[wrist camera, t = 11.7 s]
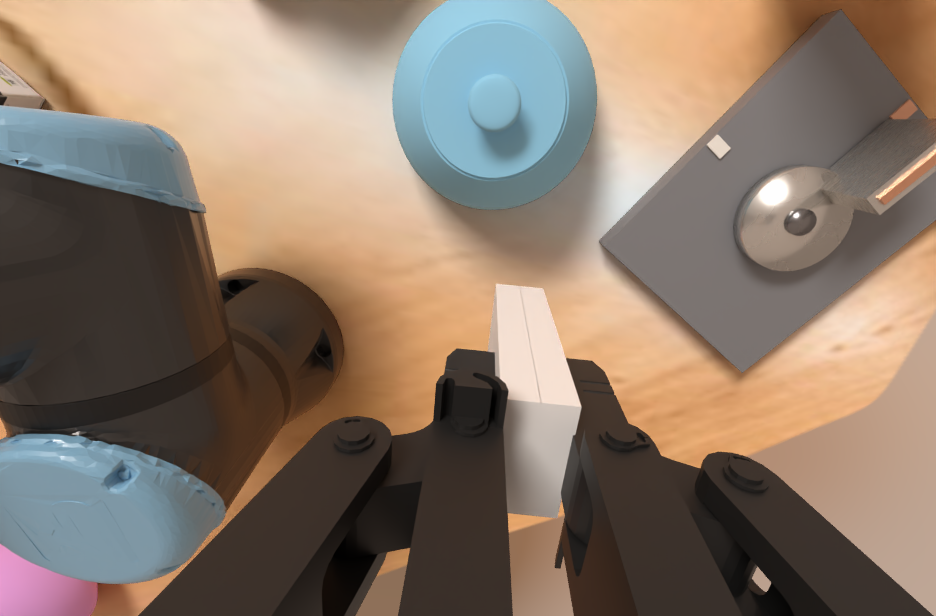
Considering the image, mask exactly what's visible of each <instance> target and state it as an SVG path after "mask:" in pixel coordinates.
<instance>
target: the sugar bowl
mask: <svg viewBox="0 0 936 616" xmlns="http://www.w3.org/2000/svg"><path fill="white" fill-rule="evenodd" d="M392 100H393V115H394V121H395V127H396V131H397V134H398V137H399V141H400V144H401V146H402V148H403V150H404V153H405V155H406V157H407V159H408V160H409V162H410V164H411V165H412V167H413V168H414V169H415V171H416V172H417V173H418V175H419V176H420V177H421V178H422V179H423V180H424V181H425V182H426V183H427V184H428V185H429V186H430V187H431V188H432V189H434V190H435V191H436V192H438V193H439V194H440V195H442V196H444V197H446V198H447V199H449V200H451V201H453V202H456V203H458V204H460V205H464V206H467V207H471V208H476V209H484V210H500V209H507V208H513V207H517V206H520V205H524V204H526V203H529V202H531V201H534V200H536V199H538V198H539V197H541V196H543V195H545V194H547V193H548V192H549V191H551V190H552V189H553V188H555V187H556V186H557V185H558V184H559V183H560V182H561V181H562V180H563V179H565V178H566V177H567V175H568V174H569V173H570V172H571V170H572V169H573V168H574V167H575V165H576V164H577V162H578V161H579V159H580V157H581V156H582V154H583V152H584V150H585V148H586V146H587V144H588V141H589V138H590V135H591V132H592V130H593V125H594V120H595V116H596V105H597V86H596V79H595V72H594V67H593V64H592V60H591V57H590V54H589V52H588V49H587V47H586V45H585V42H584V40H583V39H582V37H581V35H580V34H579V32H578V31H577V29H576V28H575V26H574V25H573V24H572V23H571V21H570V20H569V19H568V18H567V17H566V16H565V15H564V14H563V13H562V12H561V11H560V10H559V9H558V8H557V7H555V6H554V5H552V4H551V3H549V2H548V1H546V0H448V1H446V2H445V3H443V4H442V5H440V6H439V7H437V8H436V9H435V10H433V11H432V12H431V13H430V14H429V15H428V16H427V17H426V18H425V19H424V20H423V21H422V22H421V23H420V25H419V26H418V27H417V28H416V30H415V31H414V32H413V34H412V35H411V37H410V39H409V40H408V42H407V44H406V46H405V48H404V50H403V52H402V54H401V57H400V60H399V63H398V66H397V69H396V74H395V79H394V84H393V99H392Z"/></svg>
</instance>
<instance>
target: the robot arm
mask: <svg viewBox="0 0 936 616" xmlns="http://www.w3.org/2000/svg"><path fill="white" fill-rule="evenodd" d="M204 213H206V208H205V206H204V204H202V203H201V202H200V199H199V196H198V193H197V190H196V187H195V184H194V180H193V177H192V173H191V170H190V166H189V163H188V159H187V156H186V154H185V152H184V150H183V148H182V147H181V145H180V144H179V143H178V142H177V141H176V140H175V139H174V138H173V137H172V136H171V135H170V134H168V133H167V132H165V131H163V130H162V129H160V128H157V127H155V126H152V125H149V124H145V123H140V122H134V121H128V120H122V119H115V118H109V117H101V116H93V115H85V114H77V113H69V112H60V111H51V110H42V109H33V108H22V107H12V106H2V105H0V418H1V420H2V422H3V424H4V426H5V429H6V432H7V435H6V437H5V438H3V439H1V440H0V544H1V545H3V546H4V547H6V548H7V549H8V550H10V551H11V552H13V553H14V554H16V555H18V556H20V557H21V558H23V559H25V560H27V561H29V562H31V563H33V564H35V565H37V566H40V567H43V568H46V569H47V570H49V571H52V572H55V573H58V574H60V575H64V576H67V577H71V578H75V579H79V580H84V581H89V582H96V583H105V584H130V583H139V582H145V581H150V580H153V579H156V578H159V577H162V576H164V575H167V574H169V573H171V572H173V571H174V570H176V569H177V568H179V567H180V566H181V565H182V564H184V563H185V562H186V561H187V560H188V559H189V558H190V557H192V555H193V554H194V553H195V552H196V551H197V549H198V548H199V547H200V545H201V544H202V543H203V541H204V540H205V539H206V538H207V536H208V535H209V534H210V533H211V531H212V530H213V529H215V528H216V527H218V526H219V525H220V524H221V522H222V521H223V519H224V517H225V514H226V511H227V510H228V508H229V507H230V505H231V504H232V502H233V500H234V499H235V497H236V496H237V494H238V493H239V491H240V490H241V488H242V487H243V485H244V484H245V482H246V481H247V479H248V478H249V476H250V475H251V473H252V471H253V470H254V468H255V467H256V465H257V464H258V462H259V461H260V459H261V458H262V456H263V455H264V453H265V452H266V450H267V449H268V447H269V446H270V444H271V443H272V441H273V440H274V438H275V437H276V435H277V434H278V432H279V431H280V429H281V428H282V426H284V425H285V424H287V423H289V422H290V421H292V420H294V419H295V418H297V417H298V416H300V415H302V414H303V413H305V412H307V411H308V410H310V409H311V408H313V407H314V406H315V405H316V404H318V403H319V402H320V401H321V400H322V399H323V398H324V397H325V395H326V394H327V393H328V391H329V390H330V388H331V386H332V385H333V383H334V381H335V380H336V378H337V376H338V374H339V371H340V369H341V365H342V360H343V341H342V336H341V332H340V329H339V326H338V324H337V322H336V319H335V318H334V316H333V314H332V312H331V311H330V309H329V308H328V307H327V305H326V304H325V303H324V302H323V300H322V299H321V298H320V297H319V296H318V295H317V294H316V293H314V292H313V291H312V290H311V289H310V288H308V287H307V286H306V285H304V284H303V283H301V282H299V281H298V280H296V279H294V278H292V277H290V276H287V275H285V274H282V273H279V272H276V271H272V270H267V269H260V268H245V269H237V270H233V271H230V272H227V273H224V274H222V275H220V276H218V277H217V273H216V268H215V264H214V259H213V254H212V250H211V245H210V241H209V236H208V231H207V227H206V222H205V218H204ZM561 499H562V502H563V507H564V513H565V518H564V523H563V527H562V532H561V536H560V541H559V545H558V549H557V554H556V559H555V568H561V563H562V559H563V557H564V560H565V565H566V571H567V577H568V583H569V588H570V595H571V601H572V607H573V613H574V616H933V615H932V614H931V613H930V612H929V611H927V610H926V609H925V608H924V607H923V606H922V605H921V604H920V603H919V602H918V601H916V600H915V599H914V598H913V597H912V596H911V595H910V594H909V593H907V592H906V591H905V590H904V589H903V588H902V587H901V586H900V585H899V584H897V583H896V582H895V581H894V580H893V579H892V578H891V577H890V576H889V575H887V574H886V573H885V572H884V571H883V570H882V569H881V568H880V567H879V566H877V565H876V564H875V563H874V562H873V561H872V560H871V559H870V558H868V557H867V556H866V555H865V554H864V553H863V552H862V551H861V550H860V549H858V548H857V547H856V546H855V545H854V544H853V543H851V541H849V540H848V539H847V538H846V537H845V536H844V535H843V534H842V533H841V532H839V531H838V530H837V529H836V528H835V527H834V526H833V525H831V524H830V523H829V522H828V521H827V520H826V519H825V518H824V517H823V516H822V515H821V514H819V513H818V512H817V511H816V510H815V509H814V508H813V507H812V506H810V505H809V504H808V503H807V502H806V501H805V500H804V499H803V498H802V497H800V496H799V495H798V494H797V493H796V492H795V491H794V490H792V488H790V487H789V486H788V485H787V484H786V483H785V482H784V481H783V480H781V479H780V478H779V477H778V476H777V475H776V474H774V473H773V472H772V471H770V470H769V469H768V468H766V467H764V466H763V465H762V464H760V463H758V462H756V461H754V460H752V459H750V458H748V457H745V456H742V455H739V454H734V453H727V452H716V453H712V454H708V455H707V456H706V458H705V459H704V460H703V462H702V465H701V468H696V467H693V466H690V465H687V464H683V463H680V462H677V461H674V460H671V459H668V458H666V457H663V456H661V455H660V453H659V451H658V449H657V447H656V445H655V443H654V442H653V441H652V439H651V438H650V437H649V436H648V435H647V434H646V433H645V432H643V431H642V430H640V429H639V428H638V427H635V426H633V425H631V424H628V422H627V419H626V417H625V415H624V413H623V411H622V409H621V406H620V404H619V402H618V400H617V398H616V396H615V395H614V391H613V389H612V387H611V386H610V383H609V380H608V378H607V376H606V374H605V372H604V371H603V370H602V369H601V368H600V367H598V366H597V365H596V364H595V363H594V362H593V361H588V360H578V359H569V358H566V357H565V354H564V351H563V348H562V345H561V342H560V339H559V336H558V333H557V330H556V327H555V323H554V320H553V317H552V314H551V311H550V308H549V305H548V302H547V299H546V296H545V293H544V290H543V288H534V287H524V286H514V285H504V284H496V287H495V296H494V304H493V312H492V320H491V328H490V337H489V345H488V352H486V351H476V350H467V349H456V350H455V351H453V352H452V353H451V354H450V355H449V356H448V357H447V361H446V366H445V372H444V375H442V376H440V378H439V380H438V381H437V383H436V393H435V406H434V419H433V422H432V423H431V424H430V425H428V426H427V427H425V428H424V429H421V430H419V431H416V432H413V433H408V434H403V435H395V436H391V432H390V430H389V429H388V428H387V427H386V426H385V425H384V424H383V423H382V422H380V421H377V420H375V419H373V418H367V417H360V416H356V417H346V418H341V419H339V420H336V421H333V422H330V423H329V424H327V425H326V426H325V427H323V428H322V429H320V430H319V431H318V432H317V433H316V434H315V435H314V436H313V438H312V439H311V440H310V441H309V442H308V443H307V444H306V445H305V446H304V447H303V448H302V449H301V450H300V451H299V452H298V453H297V454H296V455H295V456H294V457H293V458H292V459H291V460H290V461H289V462H288V463H287V464H286V465H285V466H284V467H283V468H282V469H281V470H280V471H279V472H278V473H277V474H276V475H275V476H274V477H273V478H272V479H271V480H270V481H269V483H268V484H267V485H266V486H265V487H264V488H263V489H262V490H261V491H260V492H259V493H258V494H257V495H256V496H255V497H254V498H253V499H252V500H251V501H250V502H249V503H248V504H247V505H246V506H245V507H244V508H243V509H242V510H241V511H240V512H239V513H238V514H237V515H236V516H235V517H234V518H233V519H232V520H231V521H230V522H229V523H228V524H227V525H226V526H225V528H224V529H223V530H222V531H221V532H220V533H219V534H218V535H217V536H216V537H215V538H214V539H213V540H212V541H211V542H210V543H209V544H208V545H207V546H206V547H205V548H204V549H203V550H202V551H201V552H200V553H199V554H198V555H197V556H196V557H195V558H194V559H193V560H192V561H191V562H190V563H189V564H188V565H187V566H186V567H185V568H184V569H183V570H182V571H181V573H180V574H179V575H178V576H177V577H176V578H175V579H174V580H173V581H172V582H171V583H170V584H169V585H168V586H167V587H166V588H165V589H164V590H163V591H162V592H161V593H160V594H159V595H158V596H157V597H156V598H155V599H154V600H153V601H152V602H151V603H150V604H149V605H148V606H147V607H146V608H145V609H144V610H143V611H142V612H141V613H140V614H139V615H138V616H355V615H356V613H357V611H358V609H359V608H360V606H361V604H362V602H363V600H364V598H365V596H366V594H367V593H368V590H369V589H370V587H371V585H372V583H373V581H374V579H375V577H376V575H377V574H378V572H379V570H380V568H381V566H382V564H383V562H384V560H385V557H386V554H387V552H390V551H395V550H400V549H405V548H410V553H409V558H408V564H407V570H406V575H405V581H404V586H403V591H402V597H401V602H400V609H399V613H398V616H513V614H512V613H513V612H512V593H511V574H510V555H509V554H510V553H509V533H508V514H507V513H513V514H522V515H532V516H541V517H551V518H557V517H558V512H559V508H560V503H561ZM757 566H758V567H759V568H760V570H761V571H762V572H763V573H764V574H765V575H766V577H767V578H768V579H769V580H770V581H771V585H770V587H769V590H768V591H767V592H764V591H763V590H762V589H761V588H759V586H758V585H756V583H755V582H754V581H753V580H752V576H753V574H754V572H755V570H756V568H757Z"/></svg>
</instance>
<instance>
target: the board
mask: <svg viewBox="0 0 936 616" xmlns="http://www.w3.org/2000/svg"><path fill="white" fill-rule="evenodd" d="M887 119H928V118H927V117H926V116H925V115H924V113H923V112H922V111H921V110H920V108H919V107H918V106H917V105H916V103H915V102H914V101H913V100H912V98H911V97H910V96H909V94H908V93H907V92H906V91H905V89H904V88H903V87H902V86H901V84H900V83H899V82H898V81H897V79H896V78H895V77H894V76H893V74H892V73H891V72H890V70H889V69H888V68H887V67H886V65H885V64H884V63H883V62H882V60H881V59H880V58H879V57H878V55H877V54H876V53H875V52H874V50H873V49H872V48H871V47H870V45H869V44H868V43H867V41H866V40H865V39H864V38H863V36H862V35H861V34H860V33H859V31H858V30H857V29H856V28H855V26H854V25H853V24H852V23H851V21H850V20H849V19H848V17H847V16H846V15H845V14H844V12H843V11H842V10H841V9H840V10H837V11H834V12H831V13H828V14H825V15H822V16H821V17H820V18H819V19H818V20H817V21H816V22H815V23H814V24H813V25H812V26H811V27H810V28H809V29H808V30H807V31H806V32H805V33H804V34H803V35H802V36H801V37H800V38H799V39H798V40H797V41H796V42H795V43H794V44H793V45H792V46H791V47H790V48H789V49H788V50H787V51H786V52H785V53H784V54H783V55H782V56H781V57H780V58H779V59H778V60H777V61H776V62H775V63H774V64H773V65H772V66H771V67H770V68H769V69H768V70H767V71H766V72H765V73H764V74H763V75H762V76H761V77H760V78H759V79H758V80H757V81H756V82H755V83H754V84H753V85H752V86H751V87H750V88H749V89H748V90H747V91H746V92H745V93H744V94H743V96H742V97H741V98H740V99H739V100H738V101H737V102H736V103H735V104H734V105H733V106H732V107H731V108H730V109H729V110H728V111H727V112H726V113H725V114H724V115H723V116H722V117H721V118H720V119H719V120H718V121H717V122H716V123H715V124H714V125H713V126H712V127H711V128H710V129H709V130H708V131H707V132H706V133H705V134H704V135H703V136H702V137H701V138H700V139H699V140H698V141H697V142H696V143H695V144H694V145H693V146H692V147H691V148H690V149H689V150H688V151H687V152H686V153H685V154H684V155H683V156H682V157H681V158H680V159H679V160H678V161H677V162H676V163H675V164H674V165H673V166H672V167H671V168H670V169H669V170H668V171H667V172H666V173H665V174H664V175H663V176H662V177H661V178H660V180H659V181H658V182H657V183H656V184H655V185H654V186H653V187H652V188H651V189H650V190H649V191H648V192H647V193H646V194H645V195H644V196H643V197H642V198H641V199H640V200H639V201H638V202H637V203H636V204H635V205H634V206H633V207H632V208H631V209H630V210H629V211H628V212H627V213H626V214H625V215H624V216H623V217H622V218H621V219H620V220H619V221H618V222H617V223H616V224H615V225H614V226H613V227H612V228H611V229H610V230H609V231H608V232H607V233H606V234H605V235H604V236H603V237H602V238H601V239H600V240H599V242H600V243H601V244H602V245H603V246H604V247H605V248H606V249H607V250H608V251H609V252H611V253H612V254H613V255H614V256H615V257H616V258H617V259H618V260H619V261H620V262H621V263H623V264H624V265H625V266H626V267H627V268H628V269H629V270H630V271H631V272H632V273H633V274H635V275H636V276H637V277H638V278H639V279H640V280H641V281H642V282H643V283H644V284H646V285H647V286H648V287H649V288H650V289H651V290H652V291H653V292H654V293H655V294H656V295H658V296H659V297H660V298H661V299H662V300H663V301H664V302H665V303H666V304H667V305H668V306H670V307H671V308H672V309H673V310H674V311H675V312H676V313H677V314H678V315H679V316H681V317H682V318H683V319H684V320H685V321H686V322H687V323H688V324H689V325H690V326H691V327H693V328H694V329H695V330H696V331H697V332H698V333H699V334H700V335H701V336H702V337H703V338H705V339H706V340H707V341H708V342H709V343H710V344H711V345H712V346H713V347H714V348H716V349H717V350H718V351H719V352H720V353H721V354H722V355H723V356H724V357H725V358H726V359H728V360H729V361H730V362H731V363H732V364H733V365H734V366H735V367H736V368H737V369H738V370H740V371H741V372H742V373H743V372H744V371H745V370H747V369H748V368H749V367H750V366H752V365H753V364H754V363H755V362H757V361H758V360H759V359H760V358H762V357H763V356H764V355H766V354H767V353H768V352H769V351H771V350H772V349H773V348H774V347H776V346H777V345H778V344H779V343H781V342H782V341H783V340H785V339H786V338H787V337H788V336H790V335H791V334H792V333H793V332H795V331H796V330H797V329H798V328H800V327H801V326H802V325H804V324H805V323H806V322H807V321H809V320H810V319H811V318H812V317H814V316H815V315H816V314H817V313H819V312H820V311H821V310H823V309H824V308H825V307H826V306H828V305H829V304H830V303H831V302H833V301H834V300H835V299H836V298H838V297H839V296H840V295H842V294H843V293H844V292H845V291H847V290H848V289H849V288H850V287H852V286H853V285H854V284H855V283H857V282H858V281H859V280H861V279H862V278H863V277H864V276H866V275H867V274H868V273H869V272H871V271H872V270H873V269H874V268H876V267H877V266H878V265H880V264H881V263H882V262H883V261H885V260H886V259H887V258H888V257H890V256H891V255H892V254H893V253H895V252H896V251H897V250H899V249H900V248H901V247H902V246H904V245H905V244H906V243H907V242H909V241H910V240H911V239H912V238H914V237H915V236H916V235H918V234H919V233H920V232H921V231H923V230H924V229H925V228H926V227H928V226H929V225H930V224H931V223H933V222H934V221H935V220H936V171H935V172H934V173H932V174H931V175H930V176H929V177H927V178H926V179H925V180H924V181H922V182H921V183H920V184H919V185H917V186H916V187H915V188H914V189H912V190H911V191H910V192H908V193H907V194H906V195H905V196H903V197H902V198H901V199H900V200H898V201H897V202H896V203H895V204H893V205H892V206H891V207H890V208H888V209H887V210H886V211H884V212H883V213H882V214H881V215H877V214H873V213H869V212H865V211H861V210H856V209H854V213H853V218H852V222H851V225H850V227H849V230H848V232H847V234H846V235H845V237H844V239H843V240H842V241H841V243H840V244H839V245H838V246H837V247H836V248H835V249H834V251H832V252H831V253H830V254H829V255H828V256H826V257H825V258H824V259H822V260H821V261H819V262H817V263H816V264H813V265H811V266H809V267H806V268H803V269H800V270H795V271H776V270H772V269H768V268H766V267H764V266H762V265H760V264H758V263H756V262H754V261H752V260H751V259H749V258H748V257H747V256H745V255H744V254H743V252H742V251H741V250H740V249H739V247H738V245H737V243H736V240H735V236H734V218H735V214H736V211H737V208H738V206H739V204H740V202H741V200H742V198H743V197H744V195H745V194H746V192H747V191H748V190H749V189H750V188H751V187H752V186H753V185H754V184H755V183H756V182H757V181H758V180H760V179H761V178H762V177H764V176H765V175H767V174H769V173H771V172H773V171H775V170H777V169H780V168H783V167H787V166H793V165H805V166H813V167H819V168H825V169H829V168H831V167H832V166H833V165H834V164H835V163H836V162H838V161H839V160H840V159H841V158H842V157H843V156H845V155H846V154H847V153H848V152H849V151H850V150H852V149H853V148H854V147H855V146H856V145H858V144H859V143H860V142H861V141H862V140H863V139H865V138H866V137H867V136H868V135H869V134H870V133H872V132H873V131H874V130H875V129H876V128H877V127H879V126H880V125H881V124H882V123H883V122H884V121H886V120H887Z"/></svg>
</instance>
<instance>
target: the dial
mask: <svg viewBox="0 0 936 616" xmlns="http://www.w3.org/2000/svg"><path fill="white" fill-rule="evenodd" d="M935 171H936V119H887V120H886V121H884V122H883V123H882V124H881V125H880V126H879V127H877V128H876V129H875V130H874V131H873V132H872V133H870V134H869V135H868V136H867V137H866V138H865V139H863V140H862V141H861V142H860V143H859V144H858V145H856V146H855V147H854V148H853V149H852V150H850V151H849V152H848V153H847V154H846V155H845V156H843V157H842V158H841V159H840V160H839V161H838V162H836V163H835V164H834V165H833V166H832V167H831V168H829V169H825V168H819V167H813V166H805V165H793V166H787V167H783V168H780V169H777V170H775V171H773V172H771V173H769V174H767V175H765V176H764V177H762V178H761V179H760V180H758V181H757V182H756V183H755V184H754V185H753V186H752V187H751V188H750V189H749V190H748V191H747V192H746V194H745V195H744V197H743V198H742V200H741V202H740V204H739V206H738V208H737V211H736V214H735V218H734V236H735V240H736V243H737V245H738V247H739V249H740V250H741V251H742V252H743V254H744V255H745V256H747V257H748V258H749V259H751V260H752V261H754V262H756V263H758V264H760V265H762V266H764V267H766V268H768V269H772V270H776V271H795V270H800V269H803V268H806V267H809V266H811V265H813V264H816V263H817V262H819V261H821V260H822V259H824V258H825V257H826V256H828V255H829V254H830V253H831V252H832V251H834V249H835V248H836V247H837V246H838V245H839V244H840V243H841V241H842V240H843V239H844V237H845V235H846V234H847V232H848V230H849V227H850V225H851V222H852V218H853V213H854V209H856V210H861V211H865V212H869V213H873V214H877V215H881V214H882V213H883V212H884V211H886V210H887V209H888V208H890V207H891V206H892V205H893V204H895V203H896V202H897V201H898V200H900V199H901V198H902V197H903V196H905V195H906V194H907V193H908V192H910V191H911V190H912V189H914V188H915V187H916V186H917V185H919V184H920V183H921V182H922V181H924V180H925V179H926V178H927V177H929V176H930V175H931V174H932V173H934V172H935Z"/></svg>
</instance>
